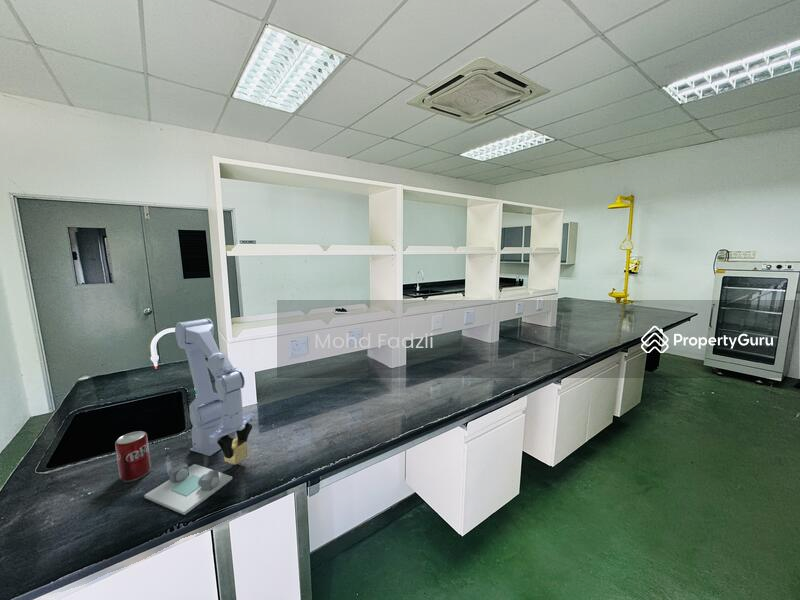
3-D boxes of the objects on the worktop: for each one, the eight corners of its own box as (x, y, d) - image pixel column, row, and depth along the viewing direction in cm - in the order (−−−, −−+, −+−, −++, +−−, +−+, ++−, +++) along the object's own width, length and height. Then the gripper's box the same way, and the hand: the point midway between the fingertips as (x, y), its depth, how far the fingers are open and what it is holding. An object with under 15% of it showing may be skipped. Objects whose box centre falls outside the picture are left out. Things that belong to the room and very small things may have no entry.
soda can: (157, 466, 99) (152, 430, 97) (139, 482, 92) (133, 443, 90) (133, 466, 99) (128, 430, 97) (113, 483, 91) (107, 444, 90)
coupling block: (224, 461, 97) (223, 446, 96) (237, 452, 101) (235, 438, 101) (235, 464, 96) (234, 449, 95) (247, 456, 100) (246, 441, 99)
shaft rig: (144, 497, 86) (142, 484, 85) (194, 466, 99) (193, 454, 98) (184, 515, 80) (182, 500, 79) (232, 479, 93) (231, 466, 92)
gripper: (220, 425, 88) (224, 470, 90) (260, 403, 101) (263, 442, 103) (202, 420, 91) (206, 464, 93) (244, 399, 104) (247, 437, 106)
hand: (235, 452), depth 98 cm, fingers closed on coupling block, 4 cm apart
